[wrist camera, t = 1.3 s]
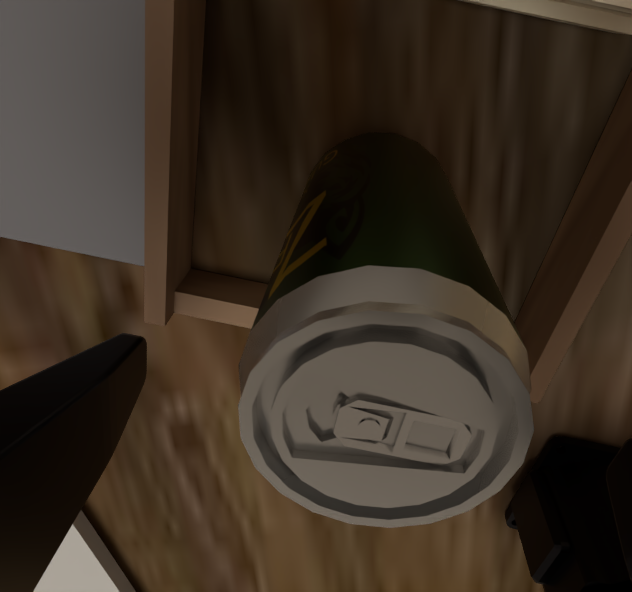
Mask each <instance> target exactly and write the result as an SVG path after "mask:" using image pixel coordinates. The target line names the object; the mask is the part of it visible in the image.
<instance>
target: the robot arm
mask: <svg viewBox="0 0 632 592" xmlns="http://www.w3.org/2000/svg"><path fill="white" fill-rule="evenodd" d="M146 372H147V343H146V340H145V339H144V338H143V337H142V336H137V335H132V334H127V333H122V334H119V335H117V336H115V337H113V338H111V339H109V340H106V341H104V342H102V343H100V344H98V345H96V346H94V347H92V348H89V349H87V350H85V351H83V352H81V353H79V354H77V355H75V356H72V357H70V358H68V359H66V360H64V361H62V362H60V363H58V364H55V365H53V366H51V367H49V368H47V369H45V370H43V371H41V372H38V373H36V374H34V375H32V376H30V377H28V378H26V379H24V380H21V381H19V382H17V383H15V384H13V385H11V386H9V387H7V388H4V389H2V390H0V592H33V591H34V589H35V588H36V586H37V584H38V583H39V581H40V579H41V578H42V576H43V574H44V572H45V571H46V569H47V567H48V566H49V564H50V562H51V560H52V559H53V557H54V555H55V554H56V552H57V550H58V548H59V547H60V545H61V543H62V542H63V540H64V538H65V536H66V535H67V533H68V531H69V530H70V528H71V526H72V524H73V523H74V521H75V519H76V518H77V516H78V514H79V512H80V511H81V509H82V507H83V506H84V504H85V502H86V501H87V499H88V497H89V495H90V494H91V492H92V490H93V489H94V487H95V485H96V483H97V482H98V480H99V478H100V477H101V475H102V473H103V471H104V470H105V468H106V466H107V464H108V463H109V461H110V459H111V457H112V455H113V453H114V451H115V449H116V446H117V444H118V442H119V440H120V438H121V435H122V433H123V431H124V428H125V426H126V424H127V422H128V419H129V417H130V415H131V412H132V410H133V408H134V406H135V403H136V401H137V399H138V396H139V394H140V392H141V390H142V387H143V385H144V382H145V379H146ZM558 447H560V448H558ZM505 519H506V523H507V525H508V526H509V527H510V528H513V529H518V532H519V535H520V539H521V543H522V546H523V550H524V553H525V557H526V560H527V564H528V567H529V571H530V574H531V577H532V578H533V580H534V581H535V582H536V583H539V584H542V585H543V588H544V592H632V438H631V439H629V440H627V441H626V442H625V443H624V445H623V446H622V448H616V447H611V446H606V445H602V444H597V443H592V442H587V441H582V440H577V439H572V438H567V437H561V436H558V437H554V438H552V439H550V440H549V442H548V443H547V445H546V446H545V448H544V450H543V451H542V453H541V455H540V457H539V458H538V460H537V462H536V463H535V465H534V467H533V468H532V470H531V471H530V472H529V473H528V474H527V476H526V478H525V480H524V481H523V483H522V485H521V486H520V488H519V490H518V491H517V493H516V495H515V496H514V498H513V500H512V502H511V505H510V507H509V509H508V510H507V512H506V514H505Z"/></svg>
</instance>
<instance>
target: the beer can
mask: <svg viewBox="0 0 632 592" xmlns="http://www.w3.org/2000/svg"><path fill="white" fill-rule="evenodd" d="M239 377H240V391H241V399H240V402H239V404H238V409H239V422H240V436H241V440H242V442H243V444H244V446H245V448H246V450H247V452H248V454H249V456H250V458H251V460H252V462H253V464H254V466H255V468H256V469H257V470H258V471H259V472H260V473H261V474H262V475H263V476H264V477H265V478H266V479H267V480H268V481H269V482H270V483H271V484H272V485H273V486H274V487H275V488H276V489H277V490H278V491H279V492H280V493H281V494H283V495H284V496H286V497H288V498H290V499H291V500H293V501H295V502H296V503H298V504H300V505H302V506H303V507H305V508H307V509H308V510H310V511H312V512H314V513H317V514H321V515H324V516H327V517H330V518H333V519H337V520H340V521H343V522H346V523H349V524H358V525H368V526H378V527H388V528H392V527H402V526H412V525H422V524H431V523H434V522H437V521H440V520H443V519H446V518H449V517H452V516H455V515H458V514H461V513H464V512H467V511H469V510H471V509H472V508H474V507H475V506H477V505H479V504H480V503H482V502H483V501H485V500H487V499H488V498H490V497H491V496H493V495H494V494H496V493H498V492H499V491H500V490H501V489H502V488H503V487H504V486H505V484H506V483H507V482H508V481H509V480H510V478H511V477H512V476H513V475H514V474H515V472H516V471H517V470H518V469H519V468H520V467H521V465H522V464H523V462H524V459H525V456H526V453H527V450H528V447H529V444H530V441H531V438H532V435H533V432H534V426H533V417H532V409H531V401H530V392H531V389H532V388H531V379H530V371H529V363H528V354H527V350H526V348H525V345H524V343H523V341H522V339H521V337H520V335H519V332H518V330H517V328H516V326H515V324H514V322H513V319H512V317H511V315H510V313H509V311H508V309H507V306H506V304H505V302H504V300H503V298H502V296H501V293H500V291H499V289H498V287H497V285H496V283H495V280H494V278H493V276H492V274H491V272H490V270H489V267H488V265H487V263H486V261H485V259H484V257H483V254H482V252H481V250H480V248H479V246H478V244H477V241H476V239H475V237H474V235H473V233H472V231H471V228H470V226H469V224H468V222H467V220H466V218H465V215H464V213H463V211H462V209H461V207H460V205H459V202H458V200H457V198H456V196H455V194H454V192H453V189H452V187H451V185H450V183H449V181H448V179H447V177H446V175H445V173H444V171H443V170H442V168H441V166H440V164H439V163H438V161H437V159H436V158H435V157H434V156H433V155H432V154H431V153H429V152H428V151H427V150H426V149H425V148H423V147H422V146H421V145H420V144H419V143H418V142H415V141H412V140H410V139H407V138H405V137H402V136H400V135H397V134H392V133H366V134H363V135H359V136H356V137H352V138H349V139H346V140H344V141H343V142H341V143H340V144H338V145H337V146H335V147H334V148H332V149H331V150H329V151H328V152H326V153H325V154H324V156H323V157H322V158H321V160H320V161H319V162H318V163H317V165H316V166H315V167H314V169H313V170H312V171H311V173H310V176H309V179H308V181H307V184H306V187H305V189H304V192H303V194H302V197H301V200H300V202H299V205H298V208H297V210H296V213H295V215H294V218H293V221H292V223H291V226H290V229H289V231H288V234H287V236H286V239H285V242H284V244H283V247H282V250H281V252H280V255H279V257H278V260H277V263H276V265H275V268H274V271H273V273H272V276H271V278H270V281H269V284H268V286H267V289H266V292H265V294H264V297H263V299H262V302H261V305H260V307H259V310H258V313H257V315H256V318H255V320H254V323H253V326H252V328H251V331H250V334H249V337H248V340H247V343H246V346H245V349H244V352H243V354H242V357H241V360H240V363H239Z"/></svg>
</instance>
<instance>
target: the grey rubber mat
mask: <svg viewBox="0 0 632 592" xmlns="http://www.w3.org/2000/svg"><path fill="white" fill-rule="evenodd" d="M144 218H145V0H0V237H5V238H10V239H14V240H19V241H24V242H29V243H34V244H39V245H44V246H48V247H53V248H58V249H63V250H68V251H73V252H78V253H82V254H87V255H92V256H97V257H102V258H107V259H111V260H116V261H121V262H126V263H131V264H136V265H141V266H144Z"/></svg>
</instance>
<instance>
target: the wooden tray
mask: <svg viewBox="0 0 632 592" xmlns="http://www.w3.org/2000/svg"><path fill="white" fill-rule="evenodd" d="M205 13H206V0H145V218H144V322H146V323H151V324H155V325H160V326H165V325H166V324H167V322H168V321H169V319H170V318H171V316H172V315H173V313H178V314H183V315H187V316H192V317H197V318H202V319H207V320H212V321H217V322H221V323H226V324H231V325H236V326H241V327H246V328H252V326H253V323H254V320H255V318H256V315H257V313H258V310H259V307H260V305H261V302H262V299H263V297H264V294H265V292H266V289H267V286H268V284H264V283H259V282H254V281H249V280H245V279H240V278H235V277H230V276H225V275H220V274H215V273H211V272H206V271H201V270H196V269H191V259H192V241H193V224H194V206H195V189H196V171H197V154H198V136H199V118H200V101H201V83H202V66H203V48H204V31H205ZM631 234H632V70H631V73H630V75H629V77H628V79H627V81H626V83H625V85H624V88H623V90H622V92H621V94H620V96H619V98H618V101H617V103H616V105H615V107H614V109H613V111H612V114H611V116H610V118H609V120H608V122H607V124H606V126H605V129H604V131H603V133H602V135H601V137H600V139H599V142H598V144H597V146H596V148H595V150H594V152H593V155H592V157H591V159H590V161H589V163H588V165H587V167H586V170H585V172H584V174H583V176H582V178H581V180H580V183H579V185H578V187H577V189H576V191H575V193H574V196H573V198H572V200H571V202H570V204H569V206H568V208H567V211H566V213H565V215H564V217H563V219H562V221H561V224H560V226H559V228H558V230H557V232H556V234H555V237H554V239H553V241H552V243H551V245H550V247H549V250H548V252H547V254H546V256H545V258H544V260H543V262H542V265H541V267H540V269H539V271H538V273H537V275H536V278H535V280H534V282H533V284H532V286H531V288H530V291H529V293H528V295H527V297H526V299H525V301H524V303H523V306H522V308H521V310H520V312H519V314H518V316H517V319H516V321H515V323H514V324H515V326H516V328H517V330H518V332H519V335H520V337H521V339H522V341H523V343H524V345H525V348H526V350H527V354H528V363H529V371H530V379H531V388H532V389H531V392H530V401H531V402H535V403H539V402H540V400H541V398H542V397H543V395H544V393H545V391H546V389H547V388H548V386H549V384H550V382H551V380H552V378H553V377H554V375H555V373H556V371H557V369H558V367H559V366H560V364H561V362H562V360H563V358H564V357H565V355H566V353H567V351H568V349H569V347H570V346H571V344H572V342H573V340H574V338H575V336H576V335H577V333H578V331H579V329H580V327H581V326H582V324H583V322H584V320H585V318H586V316H587V315H588V313H589V311H590V309H591V307H592V305H593V304H594V302H595V300H596V298H597V296H598V295H599V293H600V291H601V289H602V287H603V285H604V284H605V282H606V280H607V278H608V276H609V274H610V273H611V271H612V269H613V267H614V265H615V264H616V262H617V260H618V258H619V256H620V254H621V253H622V251H623V249H624V247H625V245H626V243H627V242H628V240H629V238H630V236H631Z"/></svg>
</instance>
